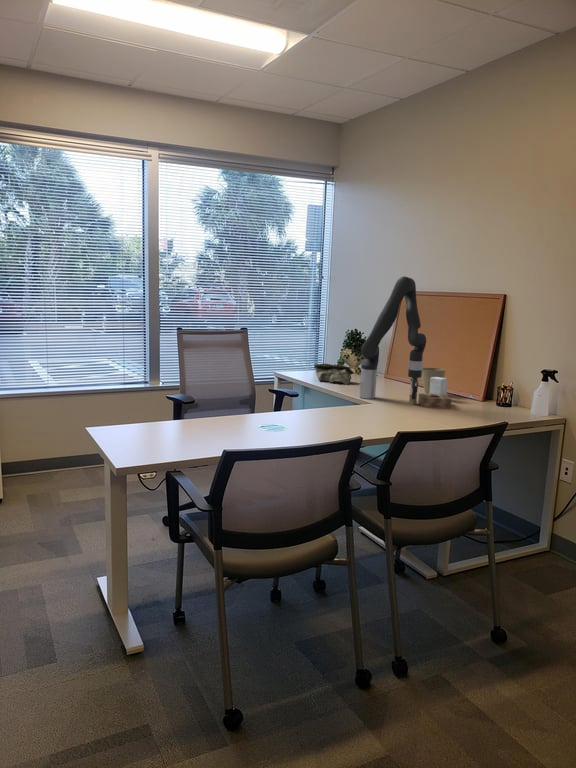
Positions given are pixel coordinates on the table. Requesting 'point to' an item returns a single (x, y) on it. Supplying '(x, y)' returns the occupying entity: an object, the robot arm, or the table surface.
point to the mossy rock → (333, 373)
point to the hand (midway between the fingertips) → (413, 398)
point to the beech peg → (411, 401)
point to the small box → (438, 385)
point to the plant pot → (429, 373)
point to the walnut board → (434, 400)
